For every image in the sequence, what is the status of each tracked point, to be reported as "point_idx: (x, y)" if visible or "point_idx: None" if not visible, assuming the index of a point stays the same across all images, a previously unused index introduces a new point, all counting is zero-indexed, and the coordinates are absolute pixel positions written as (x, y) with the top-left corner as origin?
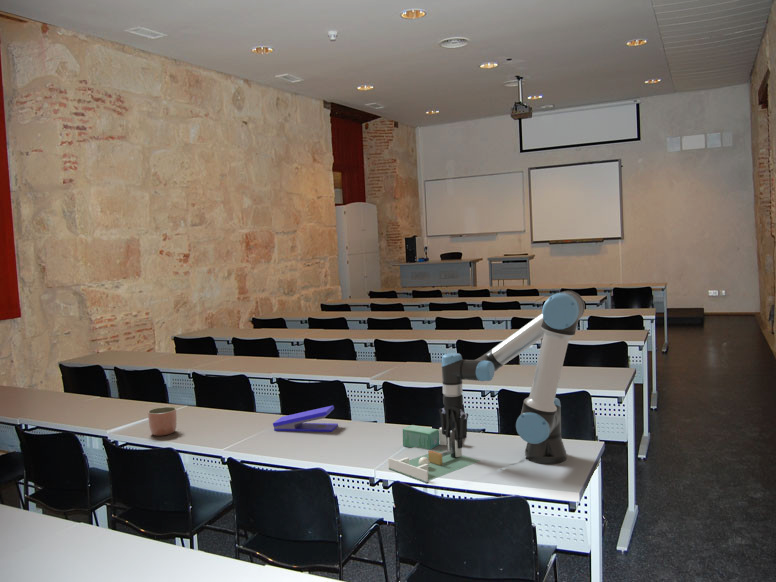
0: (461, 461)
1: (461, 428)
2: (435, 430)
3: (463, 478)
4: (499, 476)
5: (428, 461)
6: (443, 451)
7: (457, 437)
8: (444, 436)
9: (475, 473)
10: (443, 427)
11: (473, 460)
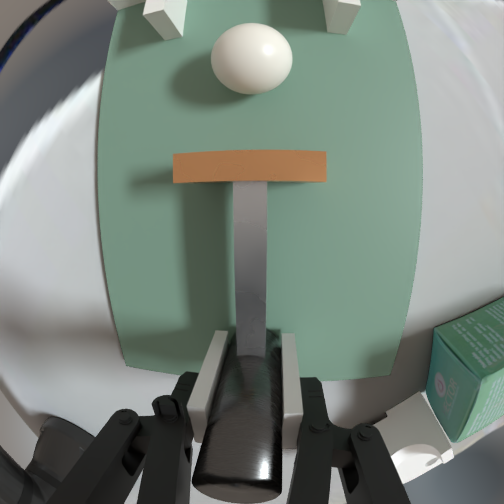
0: (171, 310)
1: (79, 480)
2: (464, 429)
3: (49, 162)
4: (13, 278)
5: (212, 63)
6: (259, 278)
7: (166, 425)
8: (416, 436)
9: (54, 244)
10: (370, 480)
11: (145, 353)
